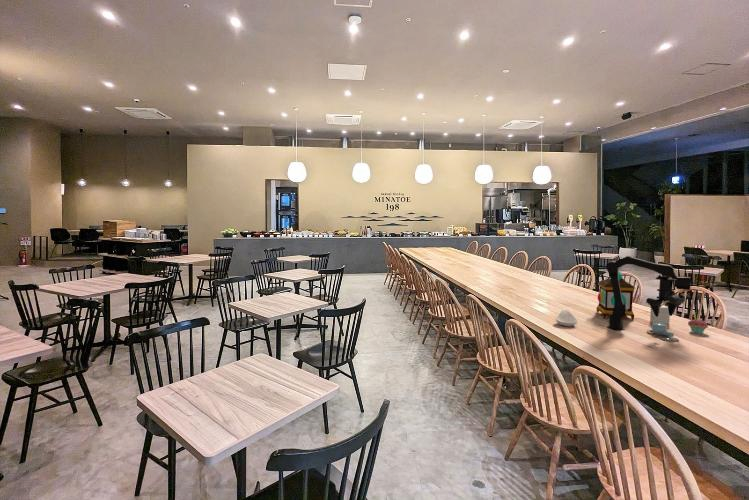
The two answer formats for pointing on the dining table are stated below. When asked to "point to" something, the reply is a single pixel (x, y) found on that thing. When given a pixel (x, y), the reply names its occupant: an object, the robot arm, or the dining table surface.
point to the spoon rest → (566, 318)
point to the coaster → (668, 338)
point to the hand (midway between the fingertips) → (663, 316)
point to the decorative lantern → (607, 296)
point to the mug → (661, 329)
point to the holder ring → (654, 334)
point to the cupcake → (697, 325)
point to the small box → (660, 316)
